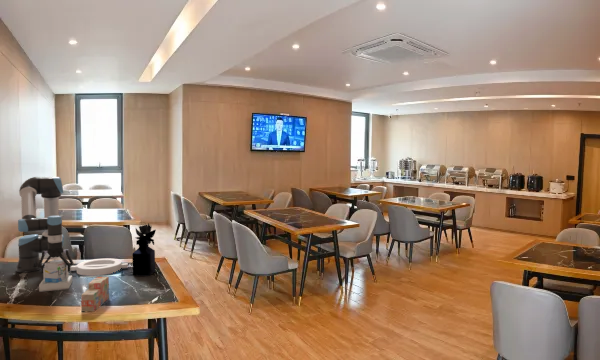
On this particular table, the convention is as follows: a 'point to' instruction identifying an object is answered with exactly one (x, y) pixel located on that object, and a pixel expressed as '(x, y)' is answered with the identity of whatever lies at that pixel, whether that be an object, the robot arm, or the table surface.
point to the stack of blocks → (95, 294)
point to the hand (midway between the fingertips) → (56, 277)
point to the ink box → (55, 271)
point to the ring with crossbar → (99, 266)
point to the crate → (55, 285)
